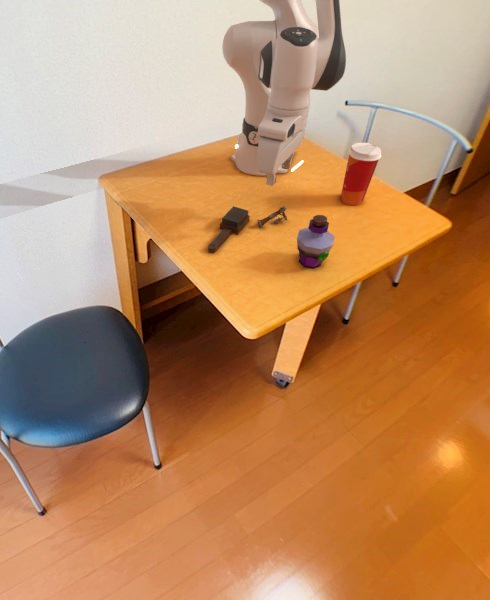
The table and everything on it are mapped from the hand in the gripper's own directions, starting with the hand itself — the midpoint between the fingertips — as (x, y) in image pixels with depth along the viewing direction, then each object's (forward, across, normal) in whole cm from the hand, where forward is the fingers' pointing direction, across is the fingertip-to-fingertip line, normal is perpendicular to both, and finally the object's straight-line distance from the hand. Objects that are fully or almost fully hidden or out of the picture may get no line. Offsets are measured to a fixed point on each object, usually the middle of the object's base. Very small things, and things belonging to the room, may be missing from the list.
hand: (278, 175), depth 103 cm
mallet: (+14, +9, -8) cm, 19 cm away
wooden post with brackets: (+14, -1, 0) cm, 14 cm away
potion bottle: (+14, +9, +14) cm, 22 cm away
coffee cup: (+14, -23, +15) cm, 30 cm away
